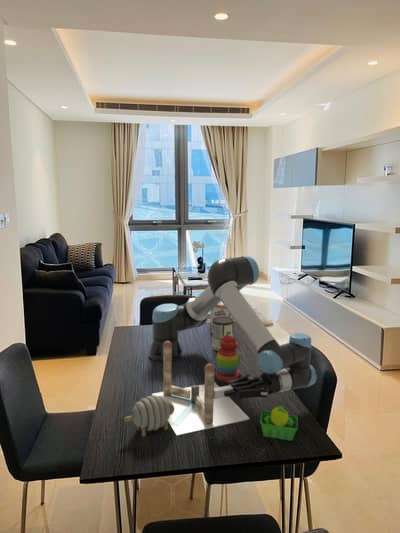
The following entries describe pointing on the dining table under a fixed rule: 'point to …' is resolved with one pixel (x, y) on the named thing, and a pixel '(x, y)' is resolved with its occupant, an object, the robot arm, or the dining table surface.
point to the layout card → (192, 419)
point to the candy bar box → (219, 313)
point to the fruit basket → (279, 424)
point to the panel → (207, 395)
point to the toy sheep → (151, 413)
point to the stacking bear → (227, 360)
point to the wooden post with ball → (167, 386)
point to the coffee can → (221, 330)
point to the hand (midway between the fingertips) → (213, 393)
